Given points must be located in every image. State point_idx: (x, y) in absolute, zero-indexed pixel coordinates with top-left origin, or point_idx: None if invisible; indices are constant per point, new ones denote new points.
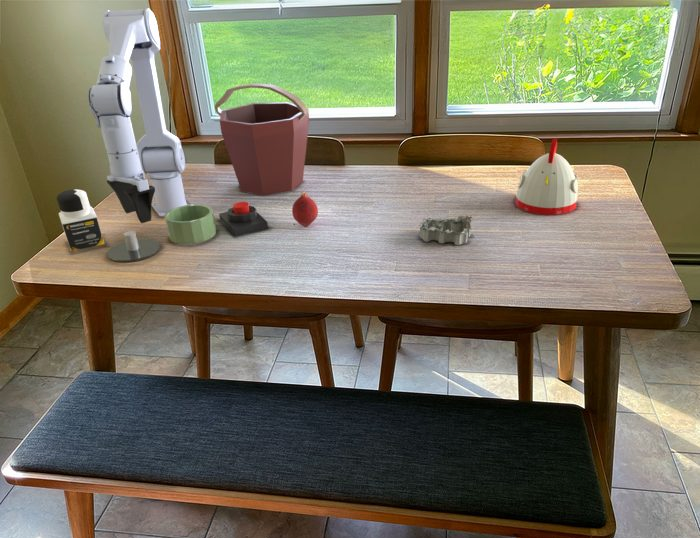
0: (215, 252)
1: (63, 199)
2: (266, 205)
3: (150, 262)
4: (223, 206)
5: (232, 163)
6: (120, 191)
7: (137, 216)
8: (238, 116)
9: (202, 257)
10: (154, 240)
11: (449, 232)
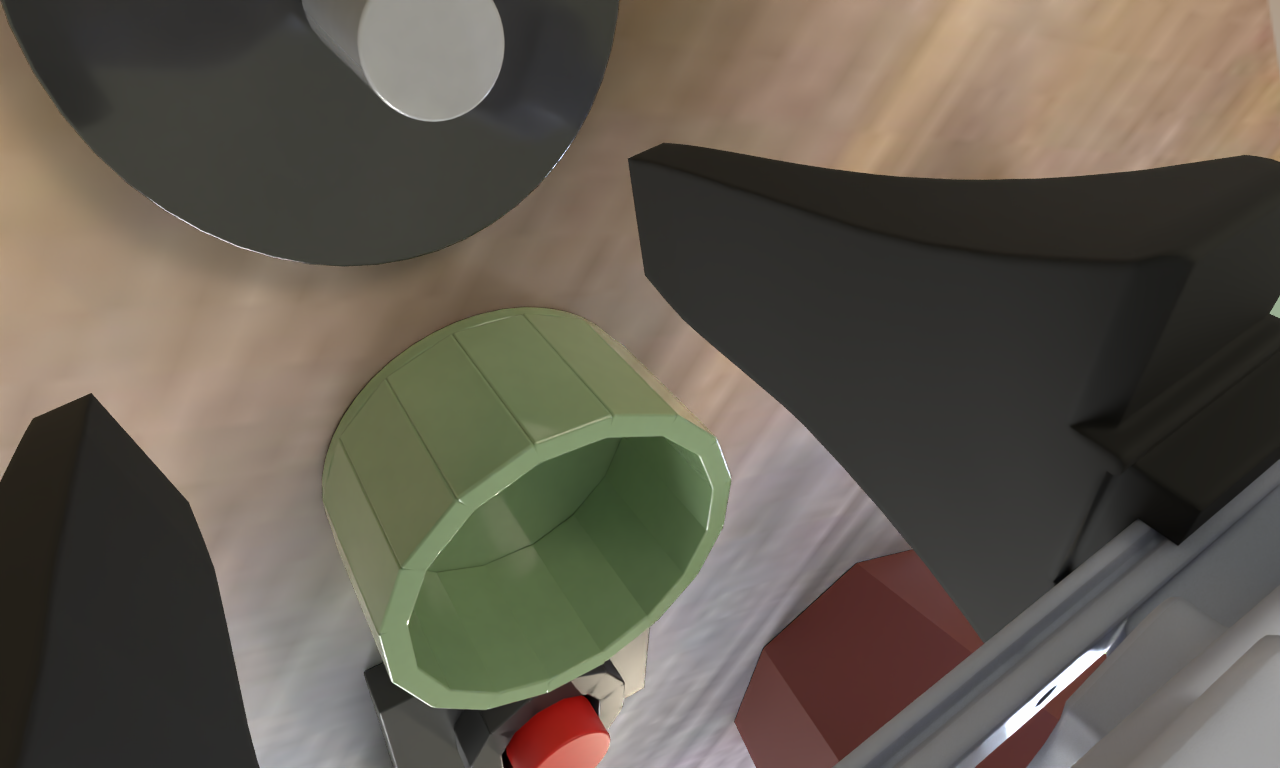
0: None
1: None
2: (670, 684)
3: (15, 132)
4: (775, 527)
5: (964, 651)
6: (898, 311)
7: (71, 453)
8: None
9: None
10: (483, 217)
11: None
